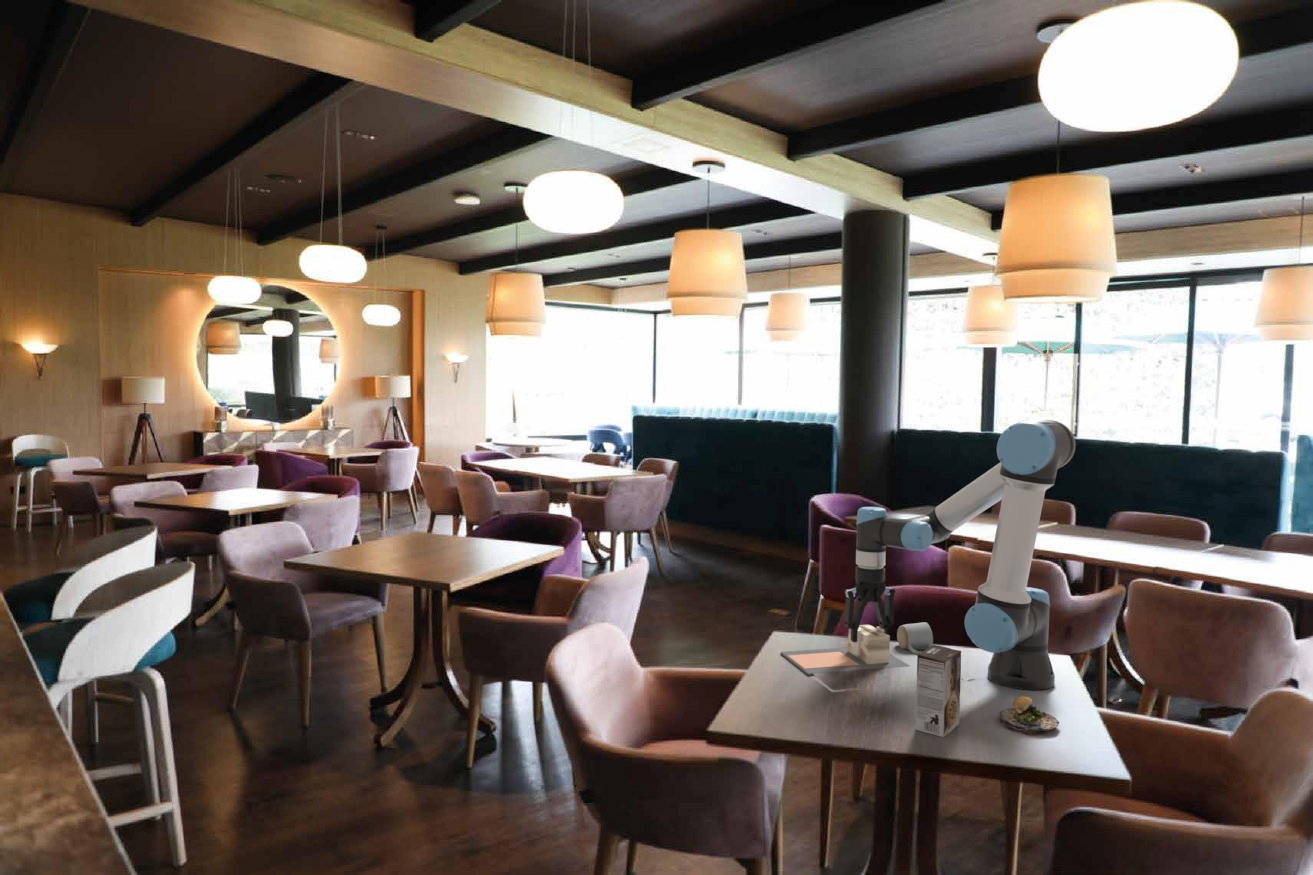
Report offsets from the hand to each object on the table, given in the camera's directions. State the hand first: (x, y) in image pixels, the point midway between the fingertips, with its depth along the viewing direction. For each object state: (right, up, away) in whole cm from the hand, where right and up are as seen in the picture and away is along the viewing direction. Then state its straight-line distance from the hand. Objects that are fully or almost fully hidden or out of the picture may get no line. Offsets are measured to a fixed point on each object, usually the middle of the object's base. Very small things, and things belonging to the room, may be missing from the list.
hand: (868, 652), depth 224 cm
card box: (0, -1, 0) cm, 1 cm away
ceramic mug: (+15, -2, +8) cm, 17 cm away
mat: (-7, -2, -2) cm, 7 cm away
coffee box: (+3, -4, -45) cm, 46 cm away
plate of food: (+23, -5, -43) cm, 50 cm away
